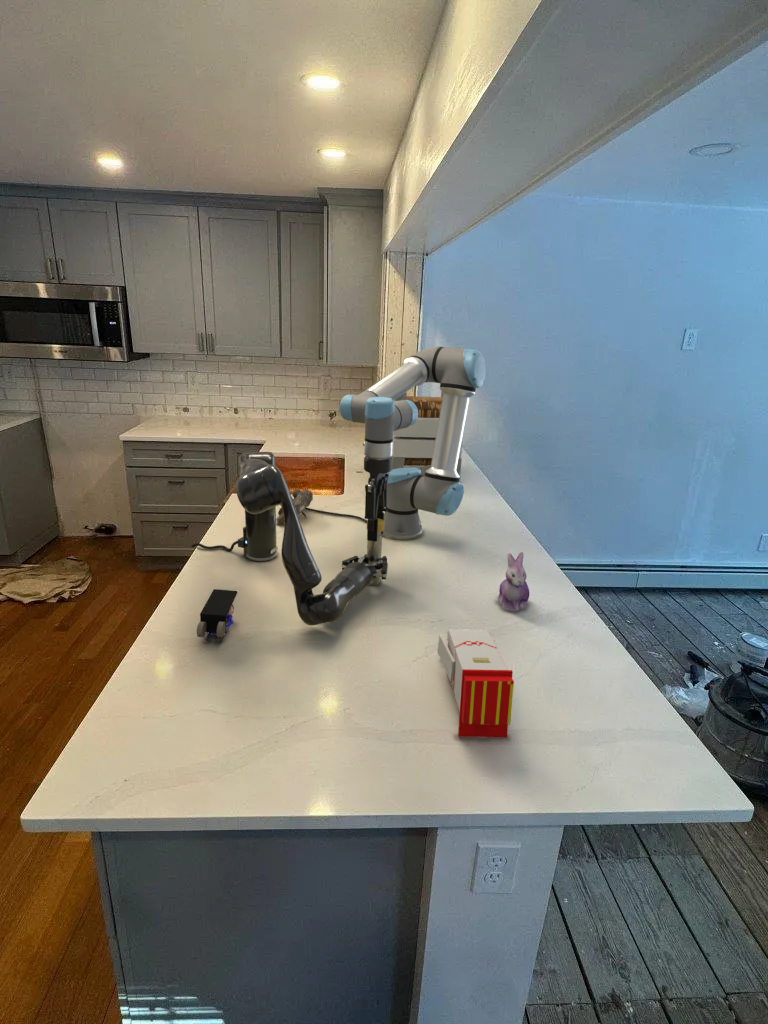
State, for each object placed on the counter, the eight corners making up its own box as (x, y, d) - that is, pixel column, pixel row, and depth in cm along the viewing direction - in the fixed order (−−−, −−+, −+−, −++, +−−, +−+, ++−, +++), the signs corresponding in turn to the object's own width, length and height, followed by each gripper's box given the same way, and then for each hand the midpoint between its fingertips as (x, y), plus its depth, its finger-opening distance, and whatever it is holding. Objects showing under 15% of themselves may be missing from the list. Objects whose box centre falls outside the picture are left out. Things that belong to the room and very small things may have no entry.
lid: (376, 534, 155) (376, 525, 155) (363, 529, 158) (363, 521, 158) (387, 529, 159) (388, 521, 158) (374, 524, 162) (375, 516, 161)
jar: (376, 578, 167) (378, 523, 161) (382, 584, 163) (384, 528, 157) (363, 580, 165) (365, 525, 159) (369, 586, 162) (371, 530, 156)
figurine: (511, 616, 149) (518, 564, 143) (487, 598, 157) (493, 549, 152) (539, 609, 153) (547, 558, 148) (514, 592, 161) (521, 544, 156)
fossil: (282, 495, 221) (310, 474, 216) (298, 513, 224) (326, 493, 219) (266, 520, 201) (297, 498, 196) (284, 540, 204) (315, 519, 199)
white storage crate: (382, 463, 289) (386, 382, 275) (445, 464, 293) (451, 384, 279) (390, 482, 257) (394, 392, 243) (460, 483, 261) (468, 394, 247)
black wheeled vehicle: (226, 651, 131) (240, 612, 144) (223, 625, 127) (238, 587, 141) (197, 650, 130) (213, 611, 144) (193, 624, 127) (210, 586, 140)
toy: (488, 613, 130) (523, 677, 101) (484, 667, 133) (517, 744, 104) (435, 612, 130) (455, 676, 101) (432, 666, 133) (451, 743, 103)
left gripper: (376, 573, 146) (401, 550, 160) (327, 562, 151) (356, 540, 166) (375, 599, 148) (399, 574, 163) (327, 587, 153) (355, 564, 168)
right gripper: (375, 447, 160) (372, 524, 168) (353, 462, 144) (351, 546, 152) (400, 450, 158) (396, 527, 166) (381, 466, 142) (378, 551, 150)
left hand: (377, 557), depth 164 cm, fingers closed on jar, 4 cm apart
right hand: (375, 536), depth 159 cm, fingers closed on lid, 5 cm apart
